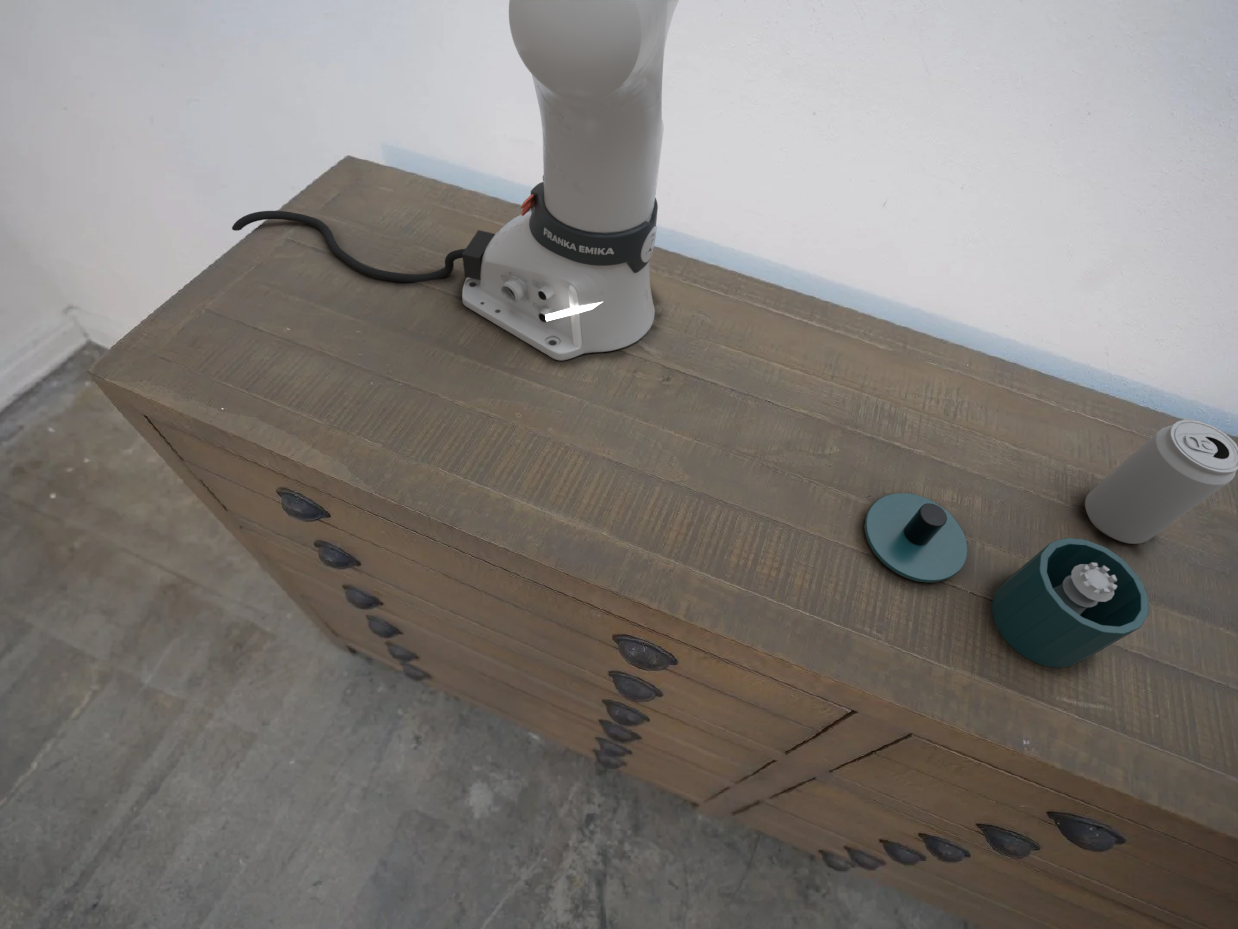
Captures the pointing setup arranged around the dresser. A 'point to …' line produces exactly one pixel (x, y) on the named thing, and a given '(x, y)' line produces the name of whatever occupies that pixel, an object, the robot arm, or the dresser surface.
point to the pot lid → (915, 537)
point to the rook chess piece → (1086, 587)
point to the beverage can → (1162, 481)
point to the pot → (1048, 623)
